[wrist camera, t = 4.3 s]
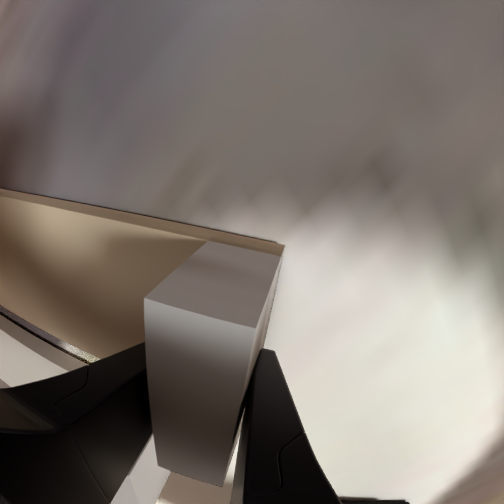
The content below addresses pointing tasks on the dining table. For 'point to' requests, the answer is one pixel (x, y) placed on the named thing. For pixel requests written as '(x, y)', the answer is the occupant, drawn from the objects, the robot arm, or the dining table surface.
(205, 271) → the birch strip
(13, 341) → the grey strip
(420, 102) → the dining table surface
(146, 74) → the dining table surface
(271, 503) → the robot arm
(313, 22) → the dining table surface
